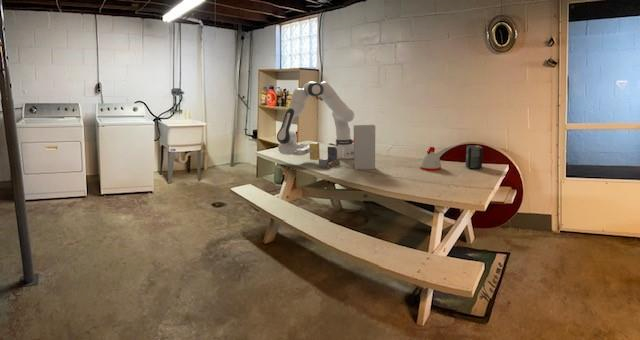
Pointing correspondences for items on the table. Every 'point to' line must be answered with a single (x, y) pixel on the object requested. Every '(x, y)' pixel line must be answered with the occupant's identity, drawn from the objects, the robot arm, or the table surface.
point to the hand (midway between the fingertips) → (315, 150)
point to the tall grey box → (364, 147)
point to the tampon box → (474, 156)
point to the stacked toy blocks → (332, 157)
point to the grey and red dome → (430, 161)
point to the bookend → (323, 163)
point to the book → (315, 154)
